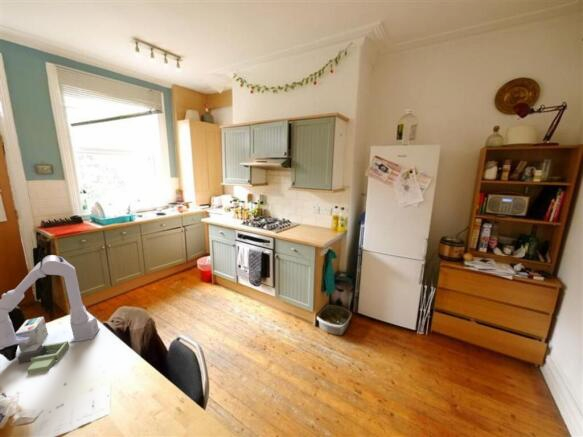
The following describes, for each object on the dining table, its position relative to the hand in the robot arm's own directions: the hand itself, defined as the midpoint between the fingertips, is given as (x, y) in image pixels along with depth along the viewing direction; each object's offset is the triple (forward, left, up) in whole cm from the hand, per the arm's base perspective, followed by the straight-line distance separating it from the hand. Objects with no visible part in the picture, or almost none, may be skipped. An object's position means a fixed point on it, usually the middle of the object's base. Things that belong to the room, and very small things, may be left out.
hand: (12, 359), depth 108 cm
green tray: (-14, +3, -1) cm, 14 cm away
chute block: (-7, 0, -2) cm, 7 cm away
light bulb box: (-2, -11, -2) cm, 11 cm away
